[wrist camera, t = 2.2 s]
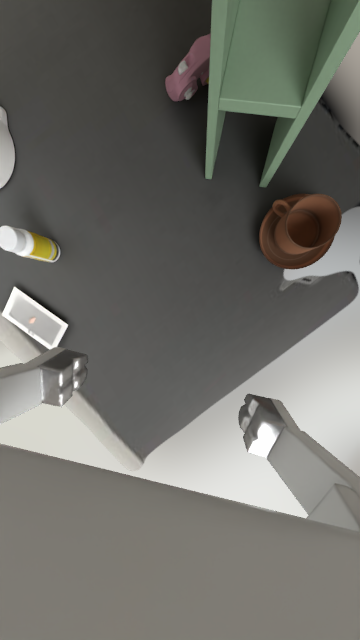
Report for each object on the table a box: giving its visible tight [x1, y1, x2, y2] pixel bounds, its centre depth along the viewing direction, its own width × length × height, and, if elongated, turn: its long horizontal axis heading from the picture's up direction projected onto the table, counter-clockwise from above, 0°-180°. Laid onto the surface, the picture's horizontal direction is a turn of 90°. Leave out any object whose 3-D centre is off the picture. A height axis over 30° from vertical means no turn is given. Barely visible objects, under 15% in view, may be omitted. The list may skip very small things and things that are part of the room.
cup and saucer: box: [259, 194, 342, 269], centre depth 27 cm, size 12×12×6 cm
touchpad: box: [2, 287, 68, 349], centre depth 38 cm, size 8×15×2 cm, turn 56°
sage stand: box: [205, 0, 360, 188], centre depth 16 cm, size 10×11×26 cm
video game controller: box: [165, 33, 211, 101], centre depth 26 cm, size 10×5×7 cm, turn 122°
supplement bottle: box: [0, 226, 60, 262], centre depth 32 cm, size 5×5×8 cm
